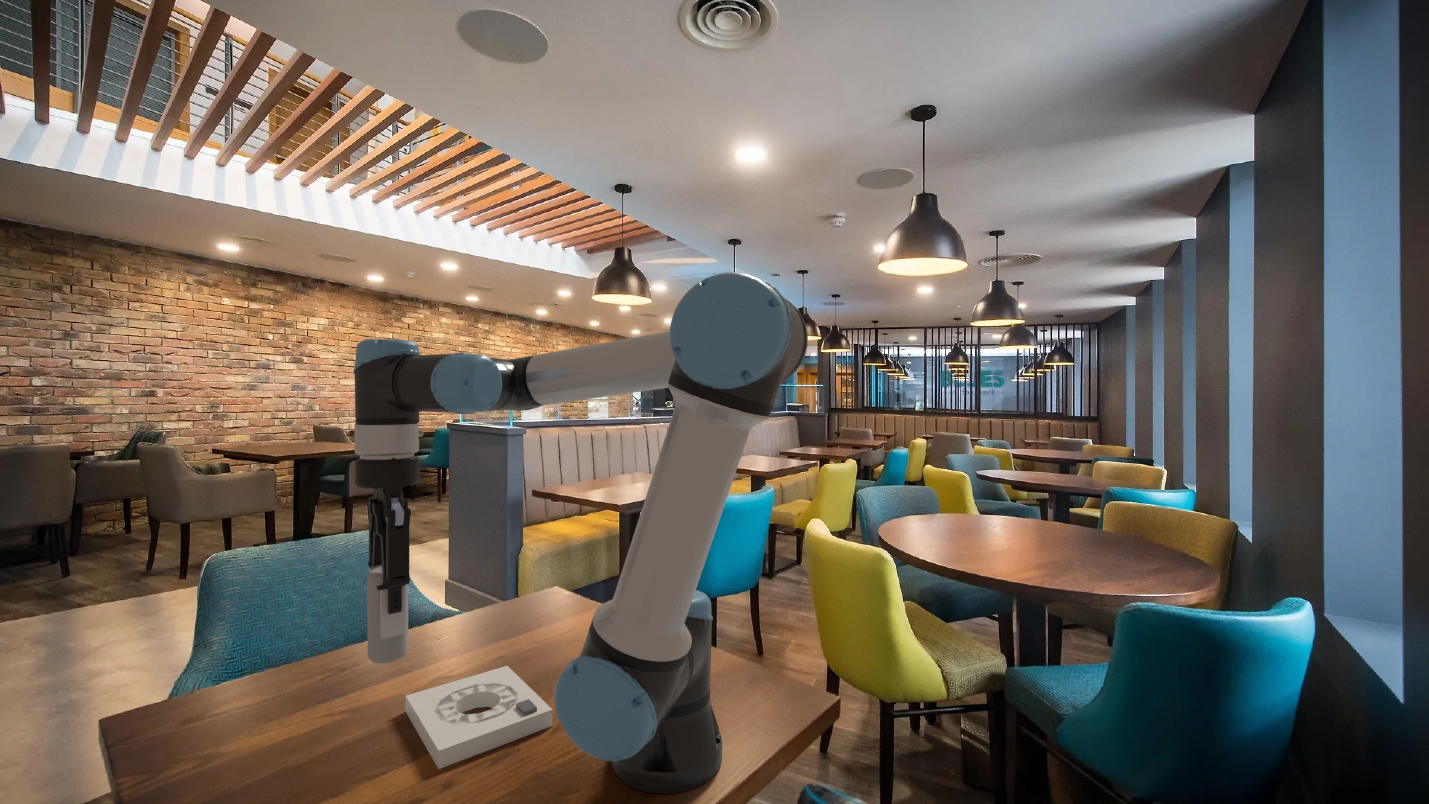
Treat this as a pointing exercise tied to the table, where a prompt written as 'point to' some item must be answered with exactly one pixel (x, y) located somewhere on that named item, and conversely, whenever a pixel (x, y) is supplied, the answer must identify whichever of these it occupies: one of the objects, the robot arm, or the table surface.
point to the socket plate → (476, 715)
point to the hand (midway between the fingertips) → (388, 628)
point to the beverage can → (379, 647)
